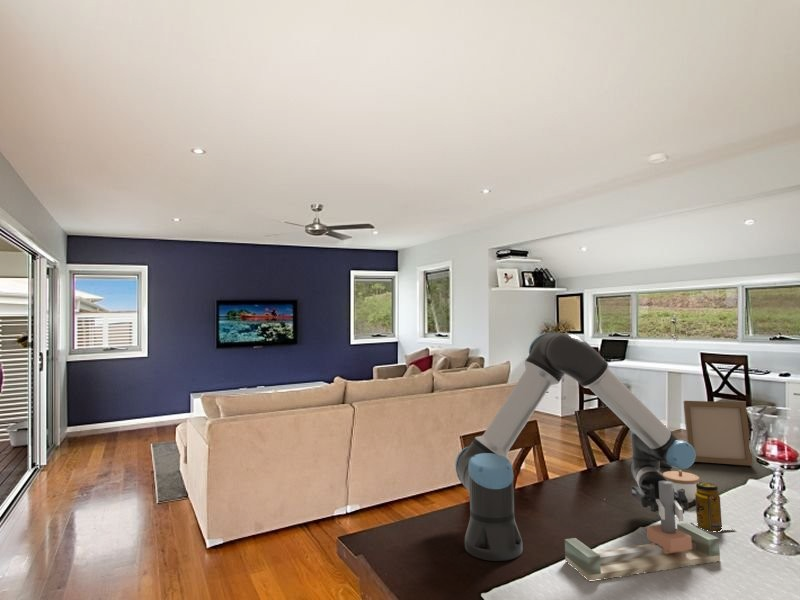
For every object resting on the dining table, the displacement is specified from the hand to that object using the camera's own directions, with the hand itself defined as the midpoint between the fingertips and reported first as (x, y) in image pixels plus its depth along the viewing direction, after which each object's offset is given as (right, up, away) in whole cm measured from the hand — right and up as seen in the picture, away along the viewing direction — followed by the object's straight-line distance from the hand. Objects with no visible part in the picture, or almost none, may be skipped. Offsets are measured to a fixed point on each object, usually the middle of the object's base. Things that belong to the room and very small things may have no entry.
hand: (672, 514), depth 118 cm
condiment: (+24, -13, +22) cm, 35 cm away
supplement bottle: (+42, -16, +82) cm, 94 cm away
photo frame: (+67, -16, +87) cm, 111 cm away
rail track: (-6, -13, +3) cm, 14 cm away
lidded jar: (+28, -15, +44) cm, 54 cm away
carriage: (+2, -11, +5) cm, 12 cm away
